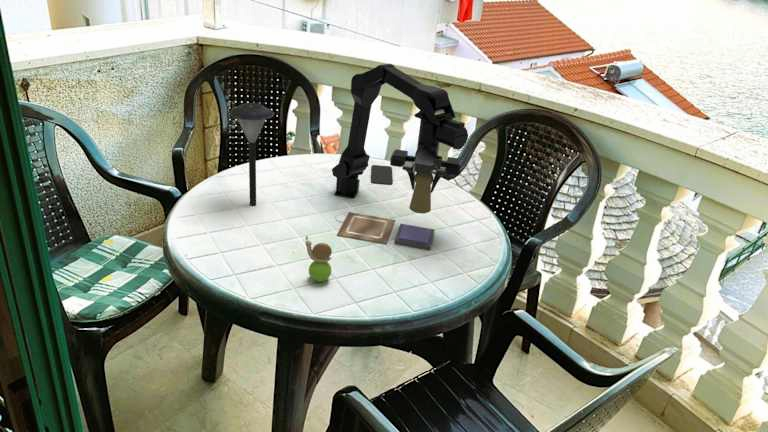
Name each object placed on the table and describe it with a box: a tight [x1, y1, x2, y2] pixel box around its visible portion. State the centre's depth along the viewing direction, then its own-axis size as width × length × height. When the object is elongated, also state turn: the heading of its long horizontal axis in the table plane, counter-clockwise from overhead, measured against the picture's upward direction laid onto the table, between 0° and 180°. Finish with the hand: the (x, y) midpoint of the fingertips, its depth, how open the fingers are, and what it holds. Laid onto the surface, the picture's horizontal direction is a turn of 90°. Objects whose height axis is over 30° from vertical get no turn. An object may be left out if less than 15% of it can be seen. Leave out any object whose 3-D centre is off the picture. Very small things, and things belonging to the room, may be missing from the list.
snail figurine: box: [305, 235, 333, 283], centre depth 137 cm, size 5×6×12 cm
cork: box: [408, 172, 434, 215], centre depth 159 cm, size 6×6×11 cm
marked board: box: [336, 211, 396, 245], centre depth 164 cm, size 14×14×1 cm
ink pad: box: [393, 223, 436, 251], centre depth 161 cm, size 10×10×2 cm
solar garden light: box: [228, 102, 275, 207], centre depth 163 cm, size 12×12×30 cm
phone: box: [370, 164, 394, 186], centre depth 198 cm, size 7×1×15 cm
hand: (422, 190), depth 159 cm, fingers closed on cork, 5 cm apart
